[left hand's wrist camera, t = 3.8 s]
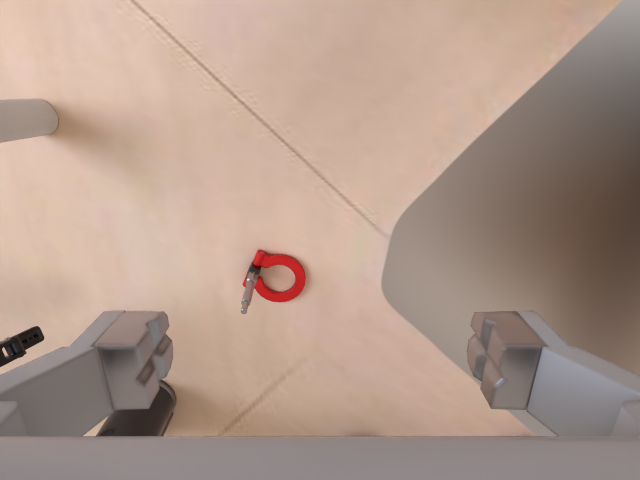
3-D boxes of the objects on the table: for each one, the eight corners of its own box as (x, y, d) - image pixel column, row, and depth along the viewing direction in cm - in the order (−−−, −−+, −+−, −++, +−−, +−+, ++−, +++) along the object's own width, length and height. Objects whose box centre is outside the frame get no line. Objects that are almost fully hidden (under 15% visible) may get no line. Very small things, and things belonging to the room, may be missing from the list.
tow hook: (313, 264, 63) (260, 243, 61) (316, 309, 51) (249, 283, 49) (292, 305, 66) (240, 286, 64) (290, 356, 54) (226, 334, 52)
